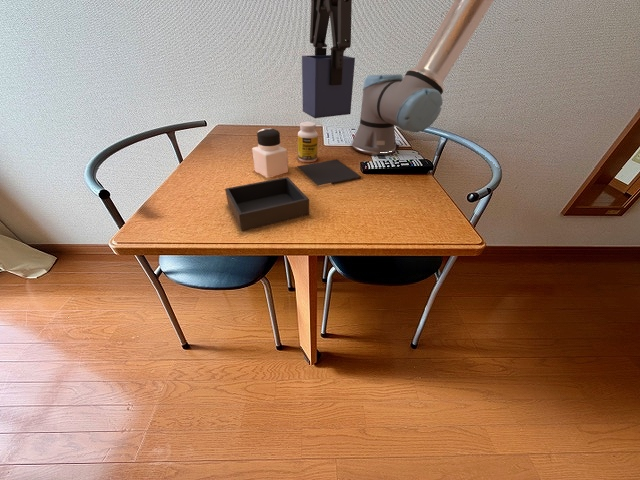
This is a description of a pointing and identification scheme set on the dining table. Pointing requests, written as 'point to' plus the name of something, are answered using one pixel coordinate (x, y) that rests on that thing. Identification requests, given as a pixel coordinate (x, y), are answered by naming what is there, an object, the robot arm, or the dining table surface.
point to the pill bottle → (307, 142)
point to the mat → (328, 172)
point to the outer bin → (266, 203)
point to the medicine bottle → (269, 154)
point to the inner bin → (326, 87)
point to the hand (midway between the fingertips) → (327, 81)
